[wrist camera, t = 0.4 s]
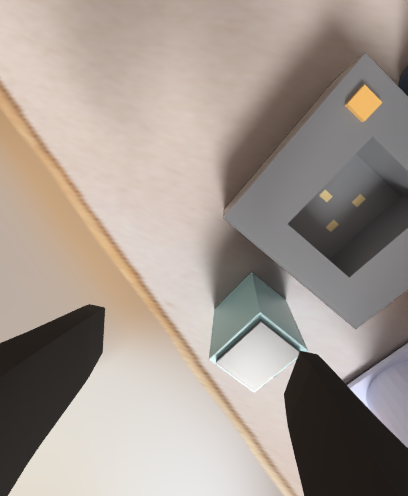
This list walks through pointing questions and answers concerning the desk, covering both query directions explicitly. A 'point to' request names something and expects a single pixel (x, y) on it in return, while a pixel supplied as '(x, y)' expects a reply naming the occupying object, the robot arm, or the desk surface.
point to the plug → (254, 334)
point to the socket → (338, 196)
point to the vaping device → (404, 82)
